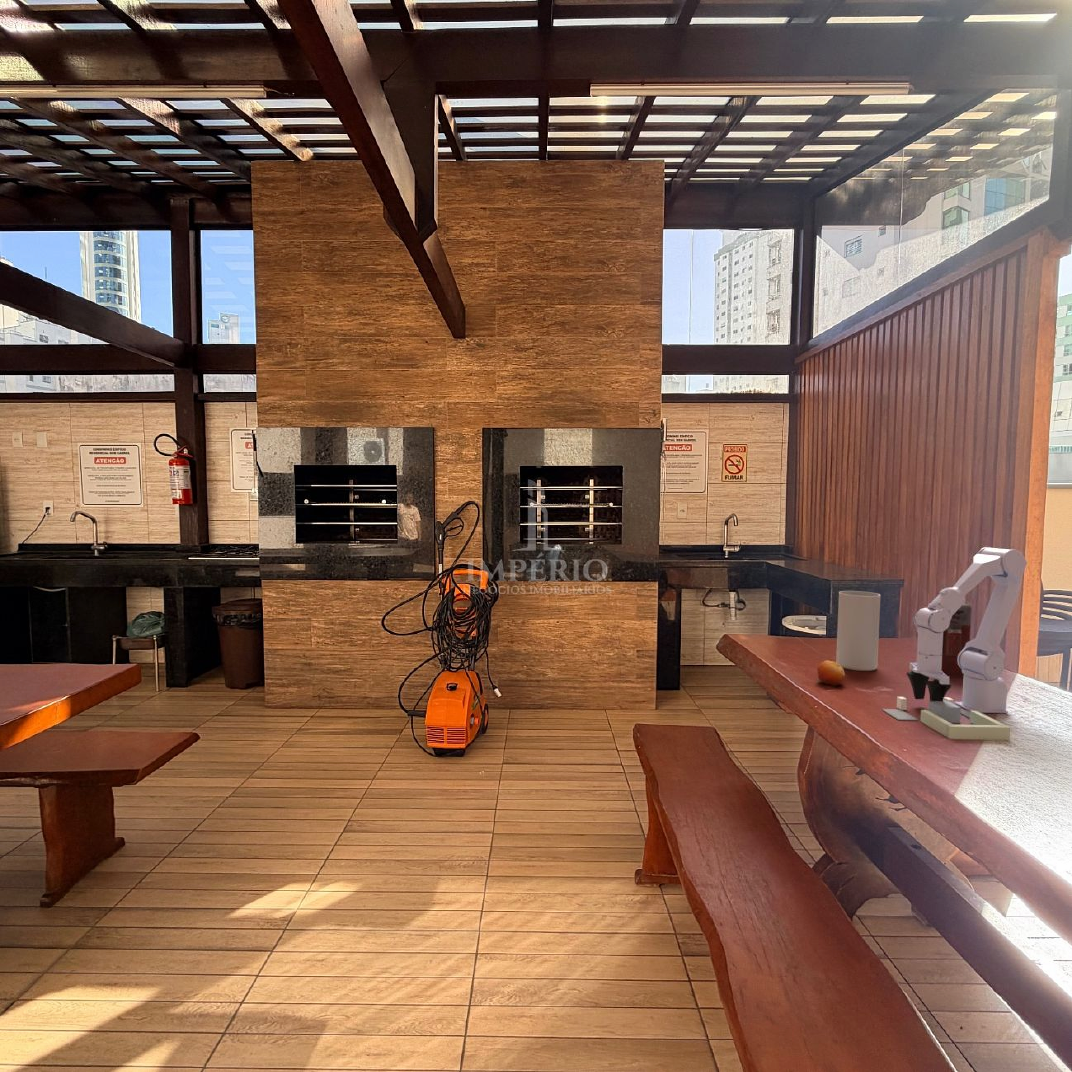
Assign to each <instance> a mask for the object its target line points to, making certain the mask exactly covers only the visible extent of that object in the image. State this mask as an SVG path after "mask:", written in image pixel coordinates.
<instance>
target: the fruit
mask: <svg viewBox="0 0 1072 1072" xmlns="http://www.w3.org/2000/svg"><path fill="white" fill-rule="evenodd" d="M816 669H817V670H816V671H817V677H818V681H817V684H818V683H824V684H826V685H829V686H833V687H836V686H839V685H840V684H842V683H843V682H844V681H845V679H846V673H845V670H844V669H845V668H843V667H841V666H840V665H839V664H837V663H836V661H831V660H827V659H825V660H824V661H822V662H820V663H819V665H818V667H817V668H816Z"/></svg>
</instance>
